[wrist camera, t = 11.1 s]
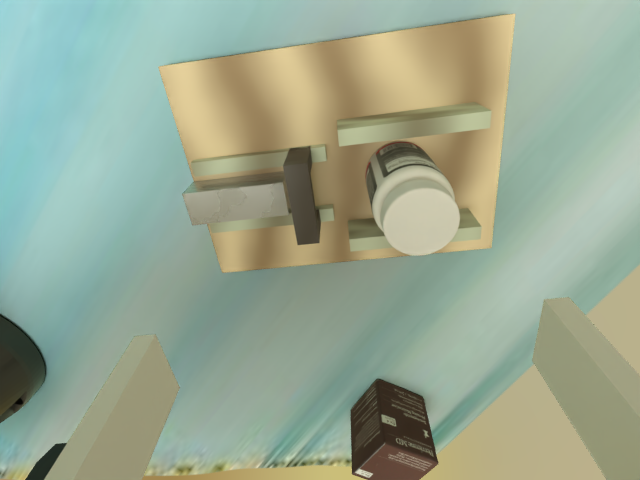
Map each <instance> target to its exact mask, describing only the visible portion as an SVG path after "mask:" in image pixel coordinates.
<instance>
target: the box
mask: <svg viewBox="0 0 640 480" xmlns="http://www.w3.org/2000/svg"><path fill="white" fill-rule="evenodd" d="M351 446H352V474H353V475H355V476H359V477H361V478H364V479H367V480H419V479H421V478H422V477H423V476H424V475H426V474H427V473H428V472H429V471H430V470H431V469H433V468H434V467H435V466H436V465H437V464H438V460H437V456H436V452H435V447H434V442H433V438H432V434H431V429H430V425H429V420H428V416H427V412H426V407H425V403H424V399H423V397H421V396H419V395H417V394H415V393H412V392H410V391H408V390H405V389H403V388H401V387H398V386H395V385H393V384H390V383H387V382H385V381H383V380H378V379H377V380H376V381H375V382H374V383H373V384H372V385H371V387H370V388H369V389H368V390H367V392H366V393H365V394H364V395H363V396H362V397H361V399H360V400H359V401H358V402H357V403H356V404H355V405H354V406H353V407H352V409H351Z"/></svg>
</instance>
